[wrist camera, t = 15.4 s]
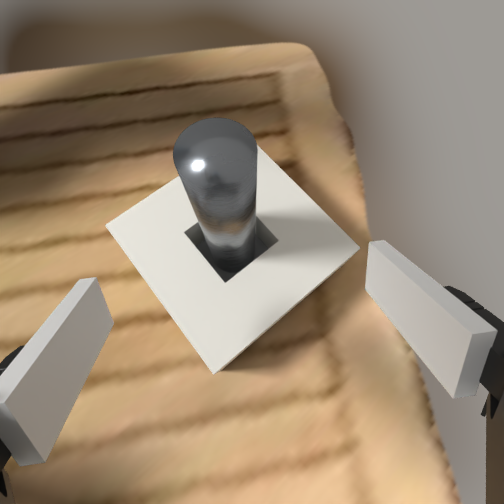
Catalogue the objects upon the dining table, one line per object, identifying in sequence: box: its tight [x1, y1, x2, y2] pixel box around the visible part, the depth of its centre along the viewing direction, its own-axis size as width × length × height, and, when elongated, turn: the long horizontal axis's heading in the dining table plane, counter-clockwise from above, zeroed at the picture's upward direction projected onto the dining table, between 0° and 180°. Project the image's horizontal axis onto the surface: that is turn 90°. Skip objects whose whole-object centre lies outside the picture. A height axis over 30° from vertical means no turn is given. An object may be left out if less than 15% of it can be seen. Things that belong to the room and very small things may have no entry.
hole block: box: [105, 145, 360, 375], centre depth 27 cm, size 15×15×5 cm
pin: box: [173, 118, 258, 273], centre depth 21 cm, size 4×4×15 cm
